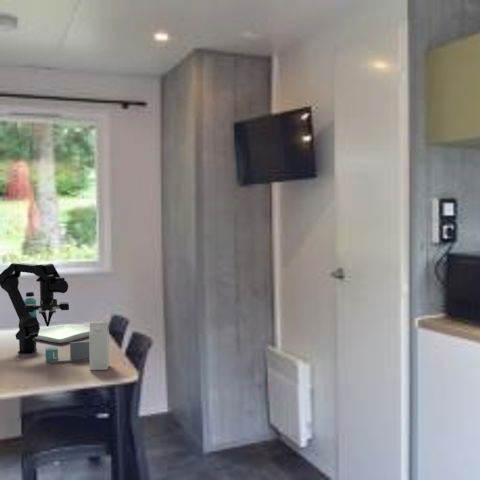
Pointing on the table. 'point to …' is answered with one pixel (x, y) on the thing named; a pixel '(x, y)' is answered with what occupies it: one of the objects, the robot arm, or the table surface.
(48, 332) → the square plate
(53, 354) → the cube
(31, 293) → the beverage bottle
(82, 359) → the rail
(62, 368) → the table surface
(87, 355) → the screen
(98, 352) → the milk carton
